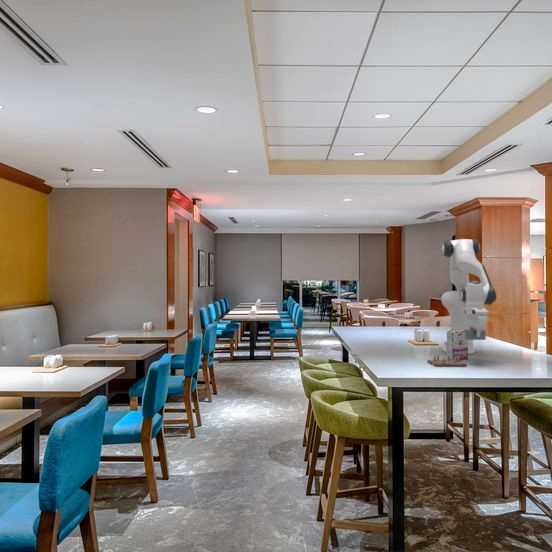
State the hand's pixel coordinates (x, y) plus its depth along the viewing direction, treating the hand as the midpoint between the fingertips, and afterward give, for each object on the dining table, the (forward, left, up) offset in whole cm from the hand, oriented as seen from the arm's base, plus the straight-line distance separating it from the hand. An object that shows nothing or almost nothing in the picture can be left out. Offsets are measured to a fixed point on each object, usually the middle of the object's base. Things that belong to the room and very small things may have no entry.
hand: (475, 336), depth 254 cm
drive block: (0, 0, -2) cm, 2 cm away
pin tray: (+1, -16, -15) cm, 22 cm away
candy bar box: (-17, -3, -15) cm, 23 cm away
